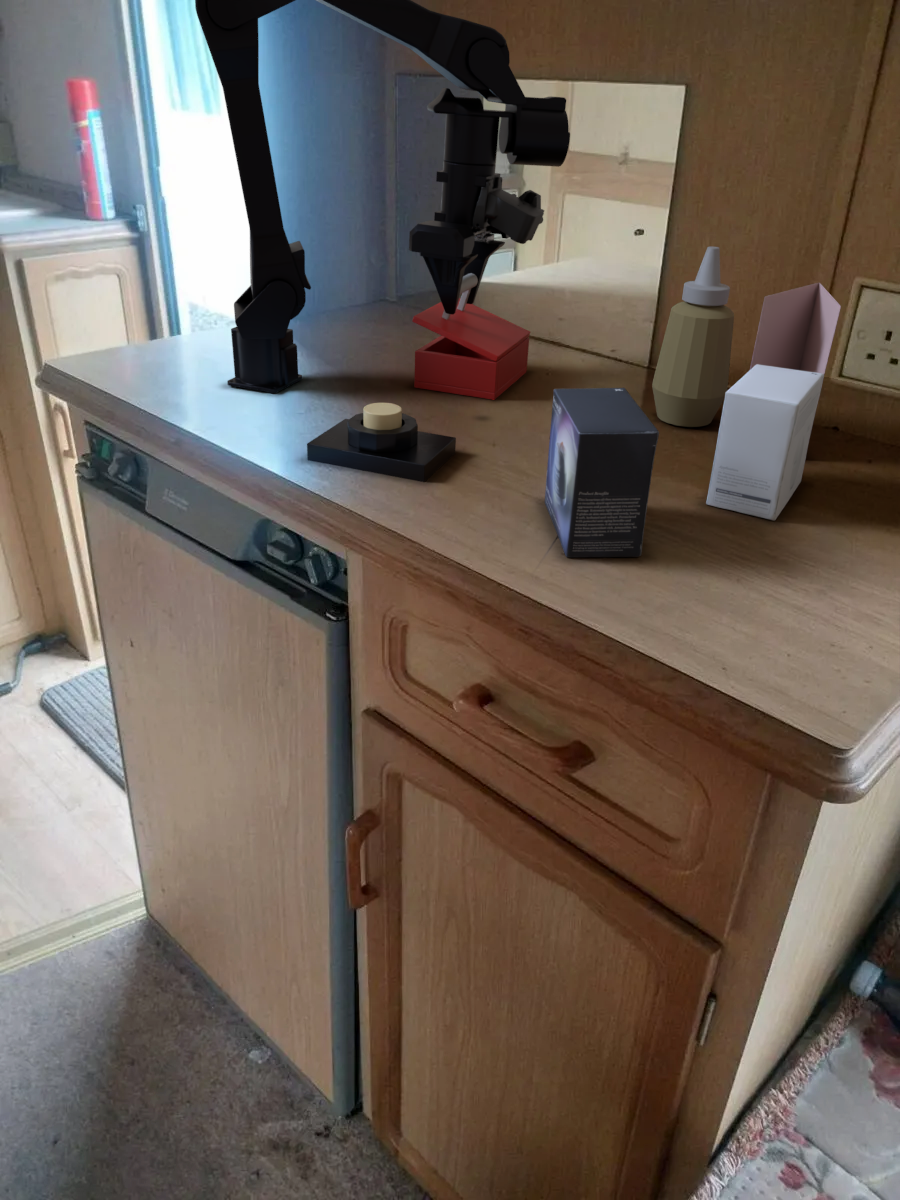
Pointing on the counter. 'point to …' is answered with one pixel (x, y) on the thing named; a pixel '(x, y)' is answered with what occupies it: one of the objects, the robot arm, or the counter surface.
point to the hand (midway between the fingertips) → (459, 308)
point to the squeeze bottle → (696, 350)
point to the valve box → (467, 369)
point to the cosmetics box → (763, 440)
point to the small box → (599, 471)
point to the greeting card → (797, 329)
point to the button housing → (383, 449)
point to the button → (382, 416)
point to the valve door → (473, 325)
